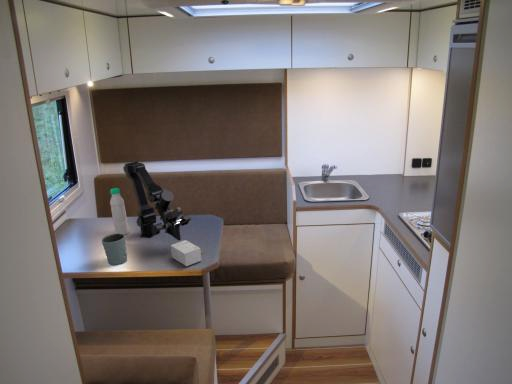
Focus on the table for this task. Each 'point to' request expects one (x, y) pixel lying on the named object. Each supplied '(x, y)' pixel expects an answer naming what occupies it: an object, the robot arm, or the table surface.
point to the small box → (186, 253)
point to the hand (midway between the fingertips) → (179, 240)
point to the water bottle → (118, 212)
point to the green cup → (115, 248)
